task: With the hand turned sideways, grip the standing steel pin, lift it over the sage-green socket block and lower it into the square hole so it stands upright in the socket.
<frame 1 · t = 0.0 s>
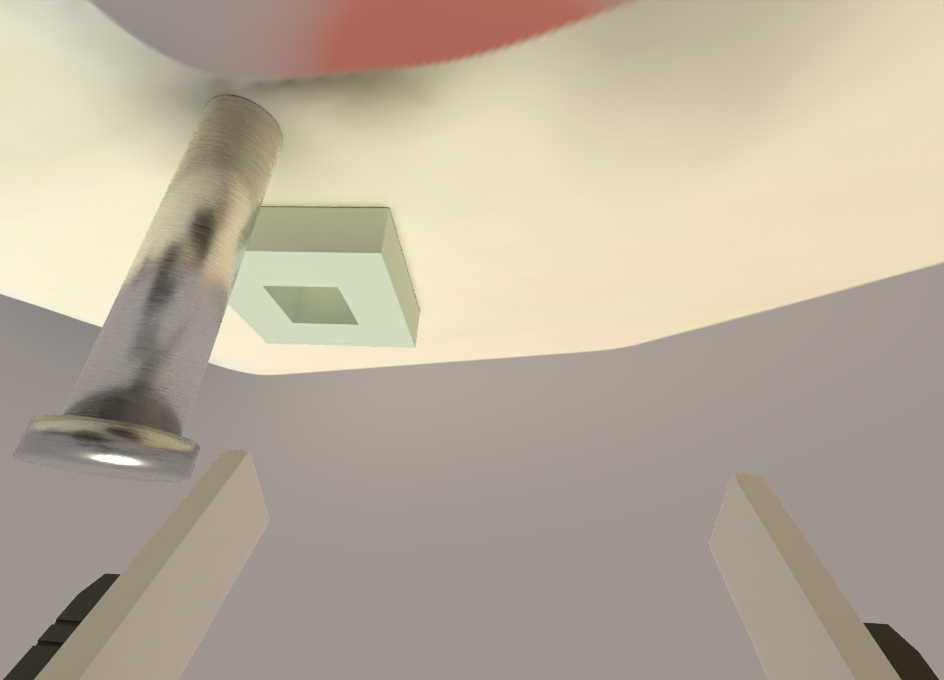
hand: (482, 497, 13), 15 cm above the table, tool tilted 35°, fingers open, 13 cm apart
socket block: (323, 266, 30), on the table
steel pin: (244, 128, 21), on the table
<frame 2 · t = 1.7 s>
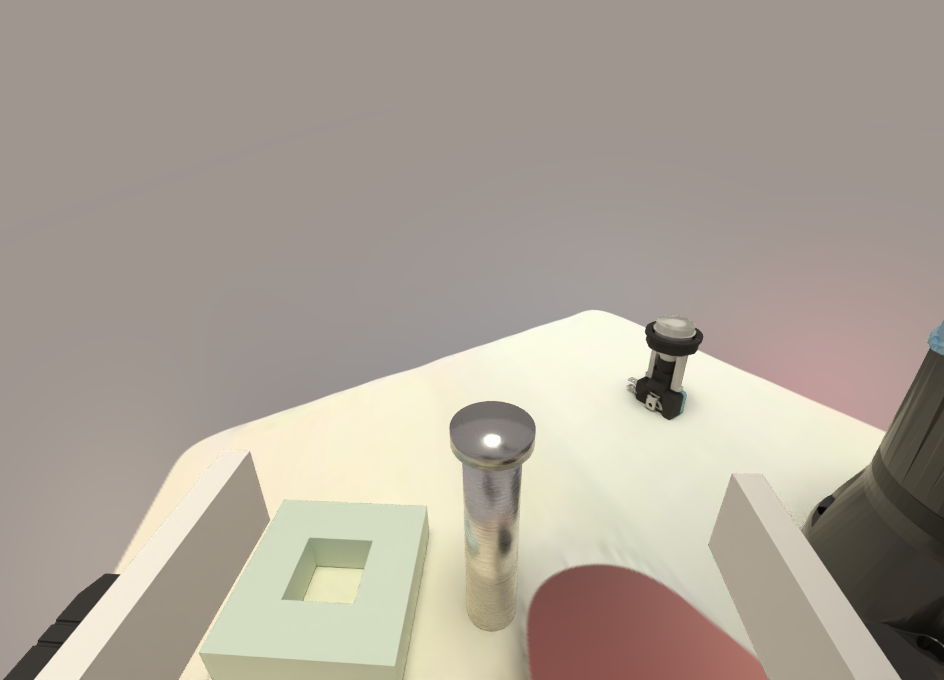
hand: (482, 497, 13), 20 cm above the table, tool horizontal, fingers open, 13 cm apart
socket block: (336, 597, 31), on the table
push button: (652, 404, 51), on the table
steel pin: (491, 606, 31), on the table
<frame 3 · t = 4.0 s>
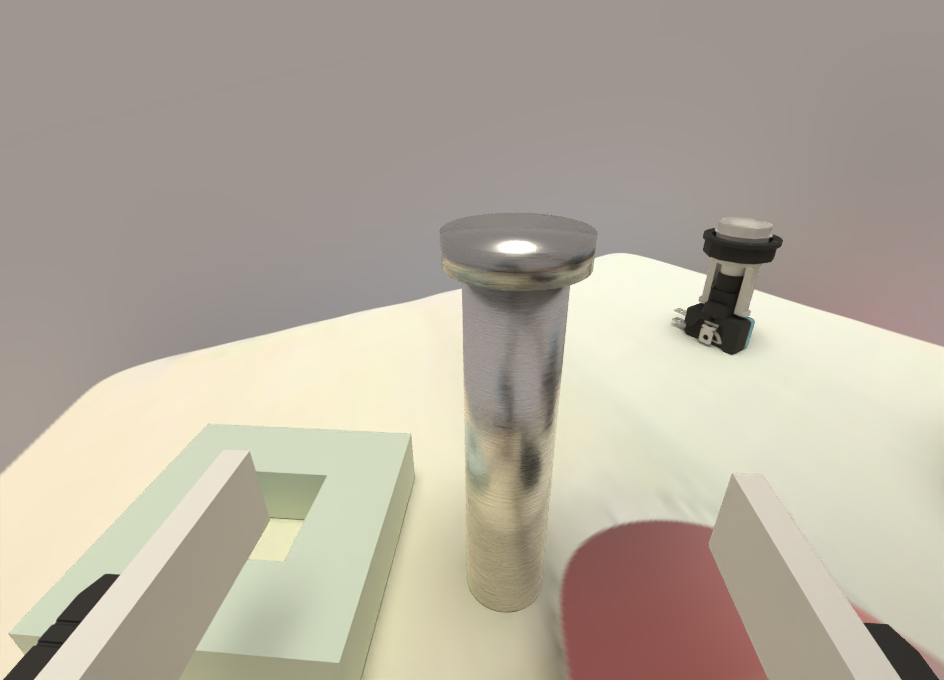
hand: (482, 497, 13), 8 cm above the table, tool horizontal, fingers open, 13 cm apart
socket block: (270, 558, 21), on the table
push button: (706, 339, 40), on the table
steel pin: (504, 575, 20), on the table
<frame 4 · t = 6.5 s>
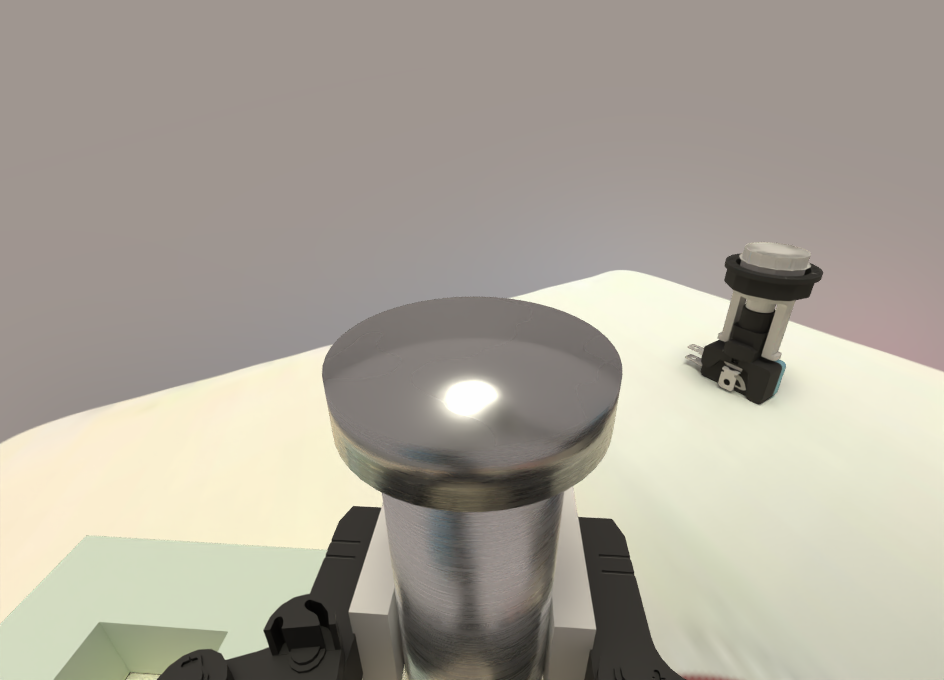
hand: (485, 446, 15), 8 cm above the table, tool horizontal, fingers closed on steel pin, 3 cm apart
push button: (726, 382, 34), on the table
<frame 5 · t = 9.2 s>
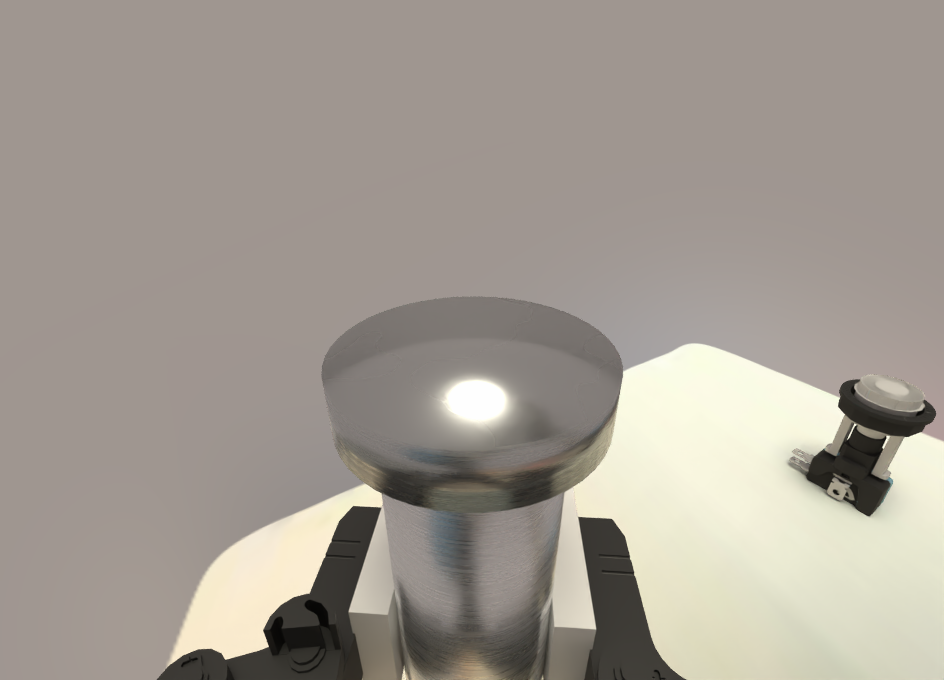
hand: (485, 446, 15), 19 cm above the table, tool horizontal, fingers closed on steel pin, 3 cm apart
push button: (831, 488, 38), on the table
when the fingers open (10 cm above the table, at t = 11.7 s): steel pin drops 2 cm, resting in socket block.
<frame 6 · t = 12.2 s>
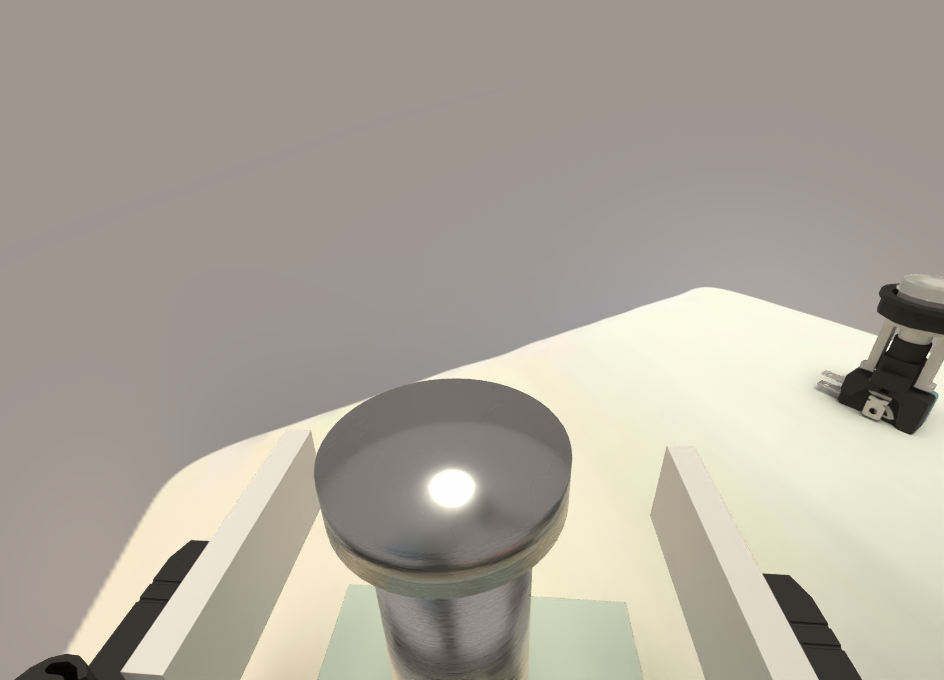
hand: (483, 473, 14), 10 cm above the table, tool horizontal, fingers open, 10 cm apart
push button: (866, 410, 34), on the table
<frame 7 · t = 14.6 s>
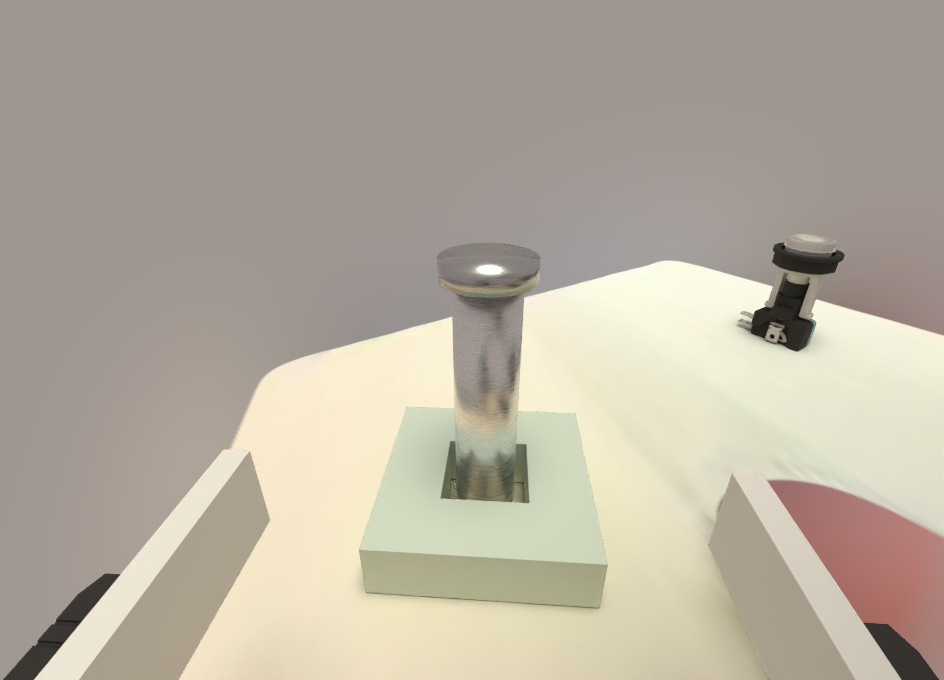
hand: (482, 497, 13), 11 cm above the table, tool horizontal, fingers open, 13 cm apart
socket block: (485, 509, 27), on the table
push button: (770, 338, 46), on the table
steel pin: (484, 509, 27), resting in socket block
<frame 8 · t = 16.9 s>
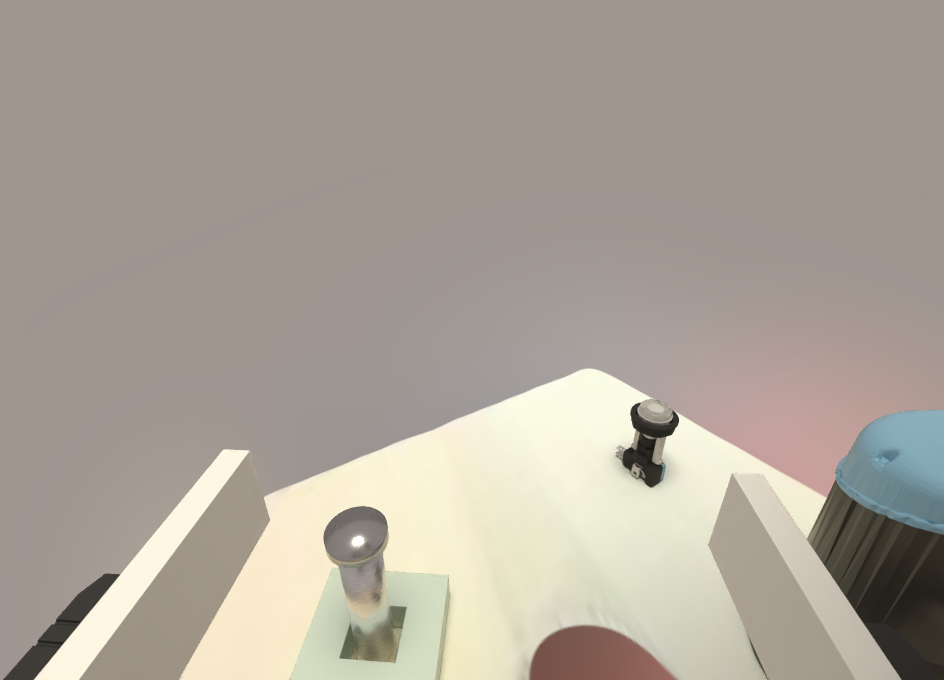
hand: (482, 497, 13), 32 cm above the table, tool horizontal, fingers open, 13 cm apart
socket block: (378, 652, 40), on the table
push button: (637, 470, 59), on the table
steel pin: (377, 653, 40), resting in socket block
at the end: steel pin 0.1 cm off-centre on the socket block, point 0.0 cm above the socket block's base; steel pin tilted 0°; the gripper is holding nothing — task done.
